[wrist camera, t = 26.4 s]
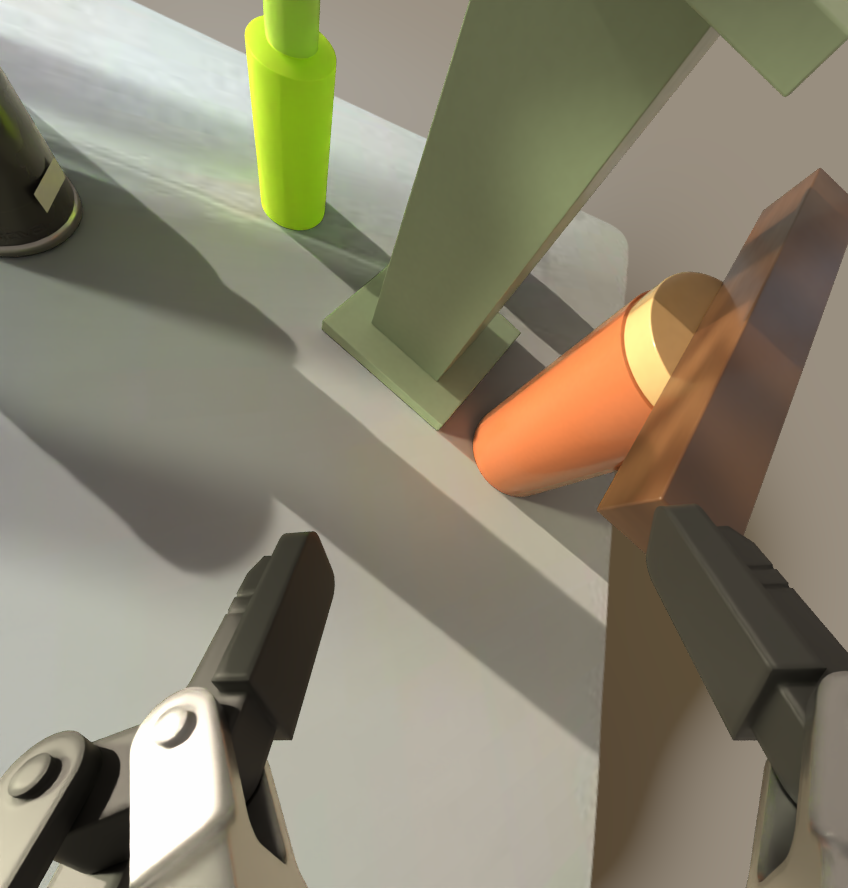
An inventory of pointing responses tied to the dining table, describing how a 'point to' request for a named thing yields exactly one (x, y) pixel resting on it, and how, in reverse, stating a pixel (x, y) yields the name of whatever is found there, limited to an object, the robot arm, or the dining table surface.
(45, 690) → the dining table surface
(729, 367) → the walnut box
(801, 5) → the plant stand
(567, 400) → the terracotta jar
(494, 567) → the dining table surface
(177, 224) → the dining table surface
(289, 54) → the soap dispenser
